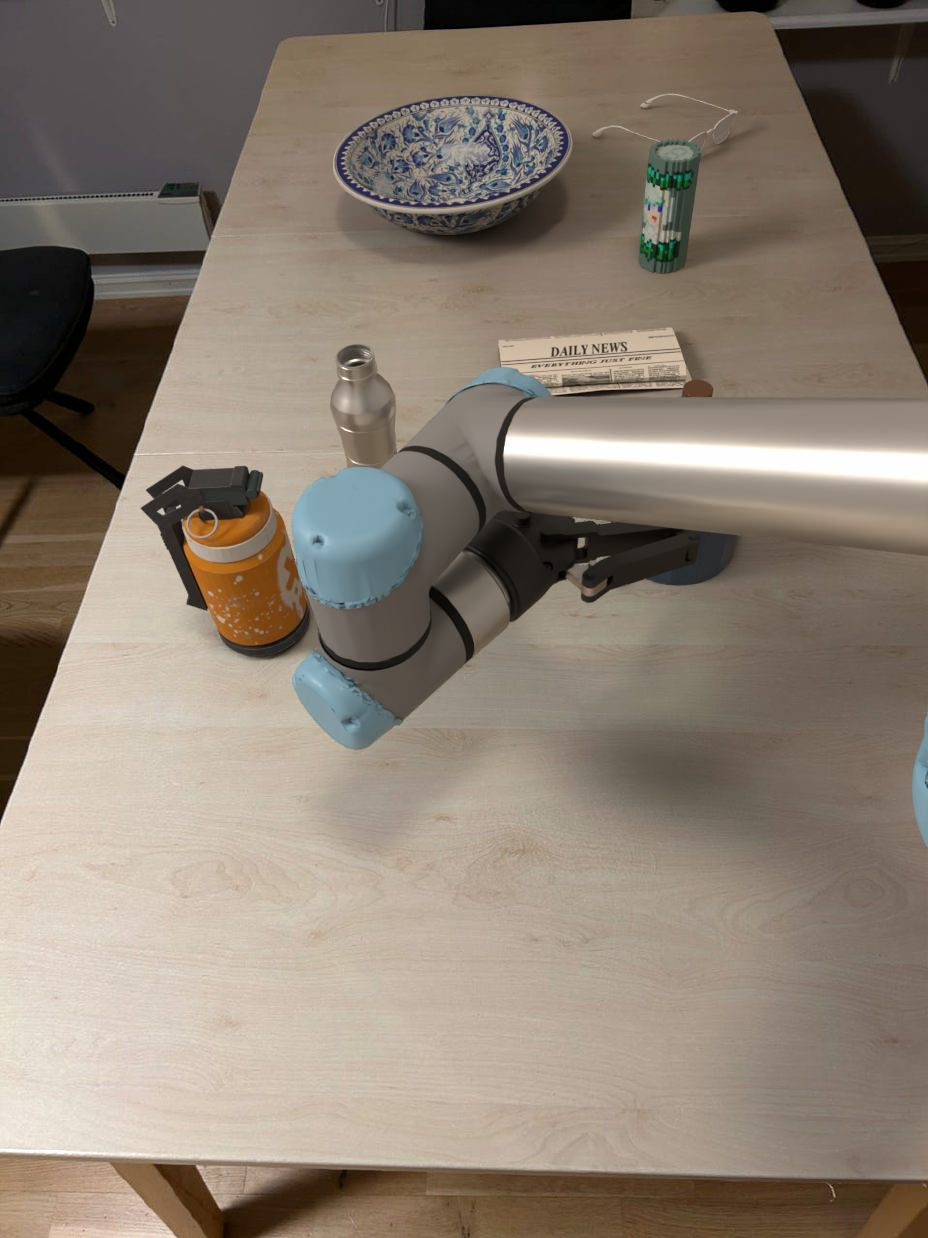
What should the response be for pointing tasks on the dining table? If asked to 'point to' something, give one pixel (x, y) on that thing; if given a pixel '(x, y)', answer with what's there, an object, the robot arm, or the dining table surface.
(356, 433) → the metal water bottle
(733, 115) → the eyeglasses
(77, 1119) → the dining table surface
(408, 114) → the ceramic bowl
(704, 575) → the pot
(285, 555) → the canister
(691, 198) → the can
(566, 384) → the newspaper
